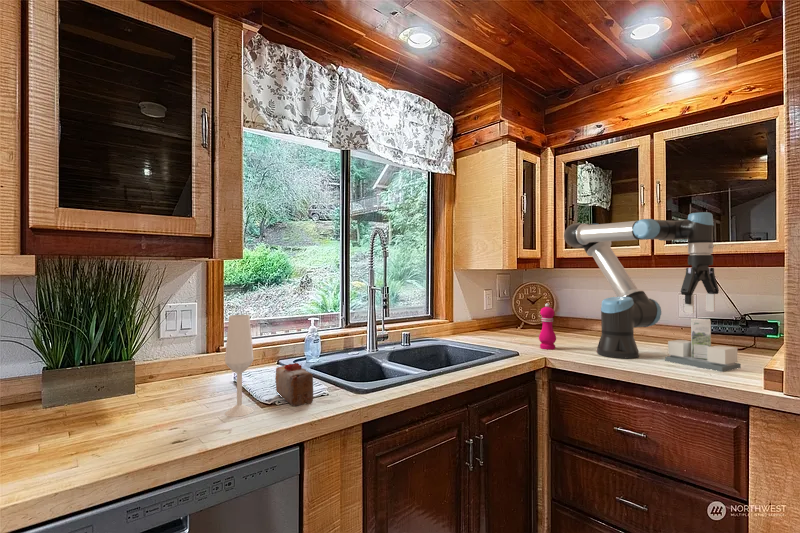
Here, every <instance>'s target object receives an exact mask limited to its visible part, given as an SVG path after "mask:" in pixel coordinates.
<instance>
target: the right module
mask: <svg viewBox="0 0 800 533" xmlns="http://www.w3.org/2000/svg"><path fill="white" fill-rule="evenodd" d="M738 357H739V356H738V347H734V346H728V345H720V344H719V345H714V346H712V345H711V347H707V361H709V362H715V363H720V364H730V363H739V362H738V359H739V358H738Z"/></svg>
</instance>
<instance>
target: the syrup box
mask: <svg viewBox="0 0 800 533" xmlns="http://www.w3.org/2000/svg"><path fill="white" fill-rule="evenodd" d="M690 322H691V323H690V324H691V328H690V329H691V330H690V332H691V334H690V335H691V336H690V338H691V340H690V341H691V355H692V358H696V359H706V360H707V347H711V346H712V340H711V339H712V335H711V334H712V321H711V319H710V318H702V317H700V318H699V317H691V320H690Z"/></svg>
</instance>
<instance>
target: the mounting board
mask: <svg viewBox="0 0 800 533" xmlns="http://www.w3.org/2000/svg"><path fill="white" fill-rule="evenodd" d="M664 358H665V359H664V362H669V361H670V362H671V363H674V362H675V364H680V365H686V366H691V367H695V368H700V369H705V368H706V369H707V370H710V369H712V371H716V370H717V372H723V373H724V372H727V371H728V372H729V371H731V370H732V369H733V370H736V369H737V368H738V369H741V363H739V362H735V365H731V366H723V365H718V364H712V363H707V362H701V361H696V360H690V359H685V358H679V357H674V356H671V355H669V356H665V357H664ZM738 369H737V370H738Z"/></svg>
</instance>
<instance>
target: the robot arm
mask: <svg viewBox="0 0 800 533" xmlns="http://www.w3.org/2000/svg"><path fill="white" fill-rule="evenodd" d="M713 216H714V215H713V214H712V213H711V212H707V211H704V212H703V211H702V212H692V213H689V214H688V215H687V219H679V220H669V219H668V220H667V219H666V220H665V219H664V220H663V219H653V218H643V219H638V220H632V221H622V222H621V221H620V222H610V223H600V224H599V223H582V222H581V223H580V222H575V223H571V224H570V225H569V226H567V227H566V229H565V230H564V233H563V238H564V241H565V243H566V244H567V245H568V246H570V247H572V248H577V249H583V250H584V251H585V253H586V255H587V256H589V257H592V258H593V259H594V261H595V263H596V265H597V266H598V268H599V269H600V271H601V273H602V274H603V276H604V277H605V279H606V280H607V282H608V284H609V286H610V288H611V289H612V291H613V292H614V294H615V296H613V297H612V296H611V297H606V298H604V299H603V300H602V301H601V307H600V313H601V316H600V317H601V318H600V320H601V325H600V326H601V335H600V339H599V340H598V344H597V348H596V353H597V355H599V356H604V357H608V358H616V359H636V358H639V357H640V351H639V349H638V346H637V342H636V339H635V337H634V333H635V332H634V329H635V328H649V327H652V326H654V325H656V324H657V323H658V322H659V321H660V319H661V315H662V308H661V306H660V303H658V301H657V300H654V299H652V298H649V297H648V295H647V294H646V292H645V291H644V290H641V289H638V287H637V286H636V285H635V282H634V281H633V280H632V279H631V277H630V275H629V273H628V272H627V270H626V269H625V267H624V266H623V264H622V263H621V262H620V260H619V258H618V256H617V255H616V254H615V252H614V251H613V249H612V247H611V246H612V244H613V243H612V242H621V241H623V242H624V241H637V240H639V241H644V240H657V241H663V242H664V241H665V242H666V241H667V242H669V241H679V240H680V241H681V240H687V254H688V256H687V265H688V266H691V267H686V268H685V275H684V279H683V282H682V286H681V289H680V294H681V295H683V296H684V313H685V314H695V295H693V294H694V292H695V290H696V288H697V285H698V284H699V282H701V283H702V285H703V287H704V289H705V290H706V293H705V311H706V312H713V313H714V312H716V295H719V286H718V281H717V278H716V276H715V268H714V267H709V266H713V265H714V256H713V254H714V247H715V246H714V226H715V224H714V217H713Z"/></svg>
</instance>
